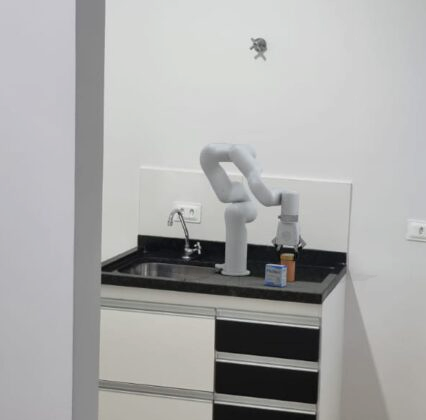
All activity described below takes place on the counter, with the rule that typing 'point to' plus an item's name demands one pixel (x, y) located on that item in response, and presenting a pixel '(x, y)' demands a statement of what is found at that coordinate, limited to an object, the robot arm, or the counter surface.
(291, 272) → the jam jar
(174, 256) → the counter surface
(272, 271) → the medicine box
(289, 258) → the jar lid
